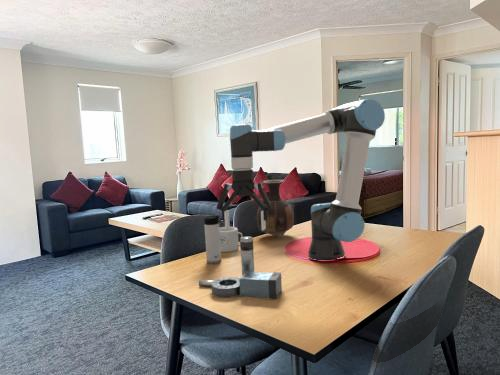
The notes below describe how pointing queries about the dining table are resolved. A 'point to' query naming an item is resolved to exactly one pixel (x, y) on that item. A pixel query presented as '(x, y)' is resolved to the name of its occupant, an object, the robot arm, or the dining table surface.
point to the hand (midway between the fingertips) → (245, 229)
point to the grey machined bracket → (247, 285)
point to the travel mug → (212, 239)
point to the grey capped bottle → (247, 254)
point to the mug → (229, 239)
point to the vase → (276, 212)
